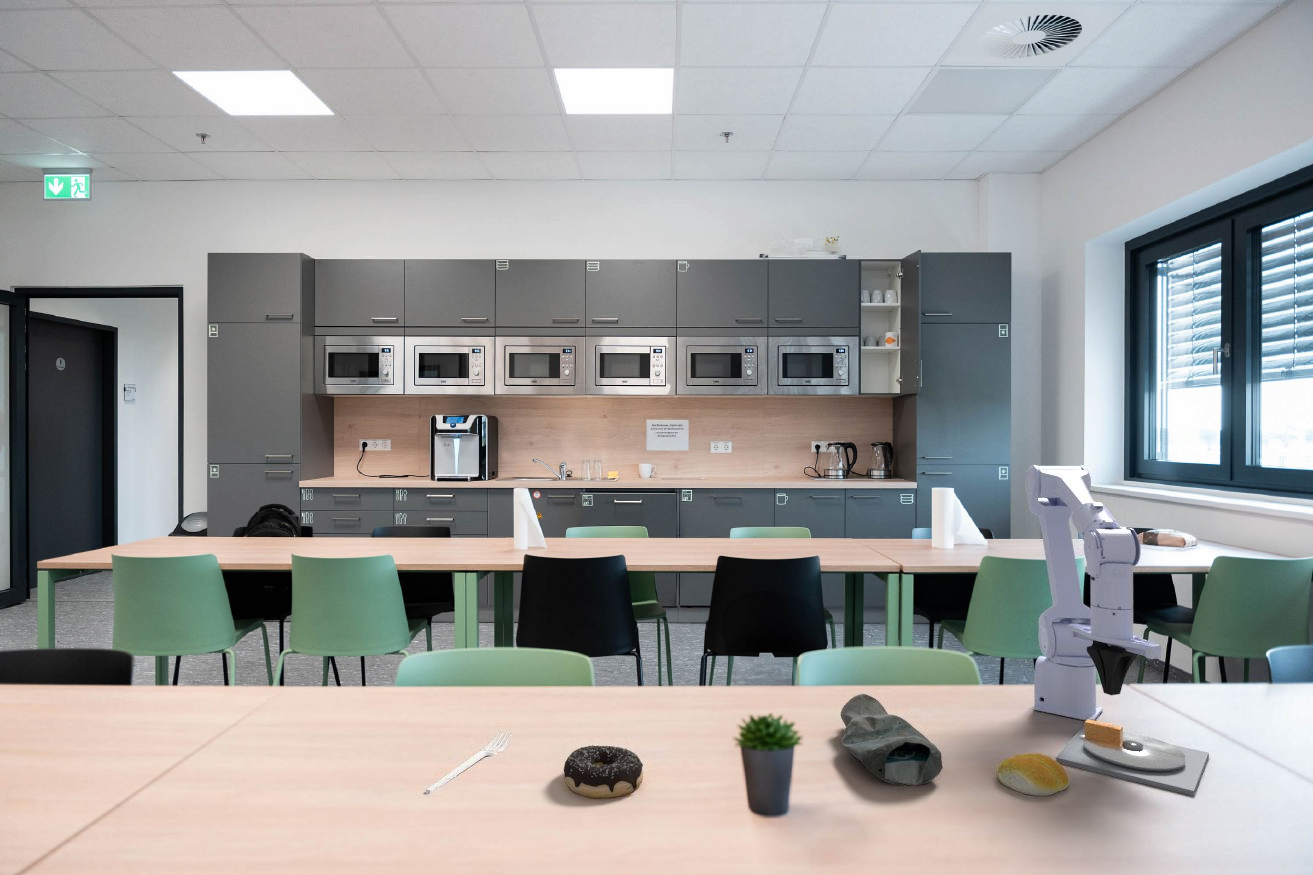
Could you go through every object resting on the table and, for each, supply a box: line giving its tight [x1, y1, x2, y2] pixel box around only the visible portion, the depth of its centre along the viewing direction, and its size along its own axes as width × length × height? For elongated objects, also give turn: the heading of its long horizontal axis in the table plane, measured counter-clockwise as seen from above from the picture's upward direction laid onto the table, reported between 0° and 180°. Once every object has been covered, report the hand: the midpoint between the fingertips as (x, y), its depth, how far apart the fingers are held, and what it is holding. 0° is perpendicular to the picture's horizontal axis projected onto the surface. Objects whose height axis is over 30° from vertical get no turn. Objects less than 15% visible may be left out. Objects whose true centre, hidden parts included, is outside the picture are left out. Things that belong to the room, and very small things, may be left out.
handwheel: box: [1083, 719, 1185, 771], centre depth 117 cm, size 13×13×3 cm
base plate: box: [1055, 725, 1210, 797], centre depth 117 cm, size 17×17×1 cm
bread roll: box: [996, 752, 1070, 797], centre depth 109 cm, size 8×9×4 cm
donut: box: [563, 745, 644, 799], centre depth 109 cm, size 11×12×4 cm
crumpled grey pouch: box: [840, 693, 944, 787], centre depth 119 cm, size 13×7×25 cm
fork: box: [425, 730, 513, 795], centre depth 115 cm, size 3×20×2 cm, turn 159°
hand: (1111, 693), depth 121 cm, fingers closed
